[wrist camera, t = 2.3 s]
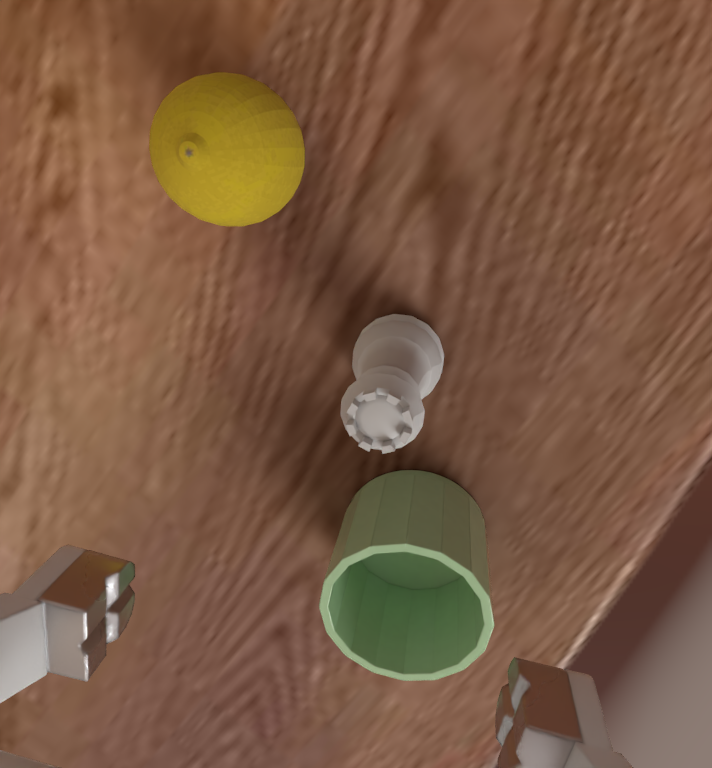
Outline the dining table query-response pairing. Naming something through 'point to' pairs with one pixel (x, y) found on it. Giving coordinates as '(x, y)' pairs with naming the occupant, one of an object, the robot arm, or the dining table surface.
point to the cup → (410, 578)
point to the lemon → (227, 149)
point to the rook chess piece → (391, 382)
